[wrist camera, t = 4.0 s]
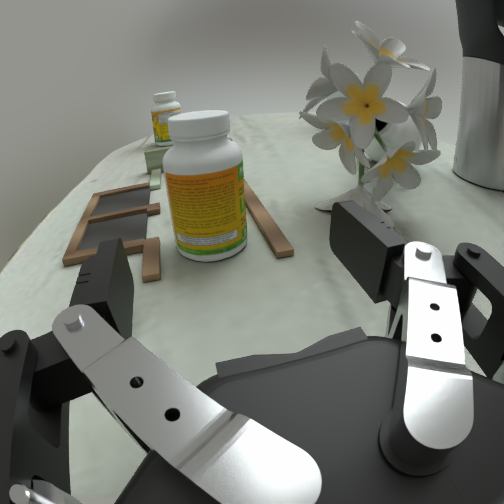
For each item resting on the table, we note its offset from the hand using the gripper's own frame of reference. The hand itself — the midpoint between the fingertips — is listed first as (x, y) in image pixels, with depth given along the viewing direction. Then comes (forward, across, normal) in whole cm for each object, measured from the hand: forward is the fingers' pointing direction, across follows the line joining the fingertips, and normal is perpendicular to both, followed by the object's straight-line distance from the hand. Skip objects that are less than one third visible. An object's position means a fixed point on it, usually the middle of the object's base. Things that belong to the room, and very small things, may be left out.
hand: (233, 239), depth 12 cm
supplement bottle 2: (+11, 0, -7) cm, 13 cm away
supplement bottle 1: (+49, -2, -7) cm, 50 cm away
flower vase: (+18, +19, -7) cm, 27 cm away
